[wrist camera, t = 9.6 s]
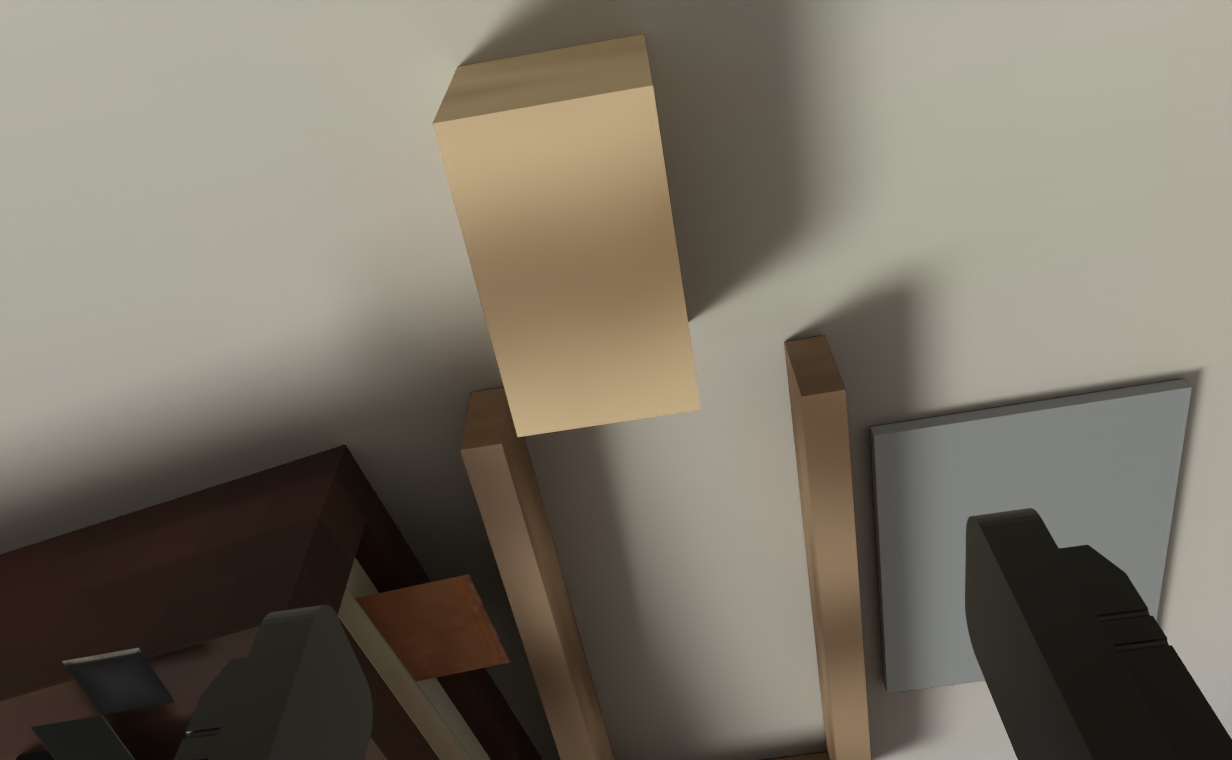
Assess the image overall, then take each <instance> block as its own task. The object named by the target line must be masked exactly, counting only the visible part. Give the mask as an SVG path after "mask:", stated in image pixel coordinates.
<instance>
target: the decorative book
mask: <svg viewBox="0 0 1232 760" xmlns="http://www.w3.org/2000/svg"><path fill="white" fill-rule="evenodd" d="M320 605H329V606H330V607H332V608H333V610H334V611H335V613H336V614H337V616H338V619H339V621H340V623H341V625H342V627H343V629H344V632H345V634H346V636H347V638H348V640H349V643H350V645H351V647H352V649H353V651H354V654H355V656H356V658H357V660H358V662H359V665H360V667H361V669H362V671H363V673H364V676H365V678H366V680H367V683H368V685H369V689H370V693H371V699H372V709H373V719H372V730H371V735H370V739H369V744H368V748H367V752H366V757H365V760H542V758H541V756H540V755H539V753H538V752H537V750H536V748H535V747H534V745H533V744H532V742H531V740H530V739H529V737H528V736H527V734H526V732H525V731H524V729H523V728H522V726H521V724H520V723H519V721H518V720H517V718H516V716H515V715H514V713H513V712H512V710H511V708H510V707H509V705H508V704H507V702H506V700H505V699H504V697H503V696H502V694H501V692H500V691H499V689H498V688H497V686H496V684H495V683H494V681H493V680H492V678H491V676H490V675H489V673H488V672H487V670H486V668H485V667H490V666H495V665H500V664H505V663H510V660H509V658H508V655H507V653H506V651H505V649H504V647H503V645H502V643H501V640H500V638H499V636H498V634H497V632H496V630H495V627H494V625H493V623H492V621H491V619H490V617H489V615H488V612H487V610H486V608H485V606H484V604H483V602H482V600H481V597H480V595H479V593H478V591H477V589H476V587H475V584H474V582H473V580H472V578H471V576H470V574H467V575H462V576H457V577H453V578H448V579H443V580H439V581H434V582H431V581H430V579H429V577H428V576H427V574H426V573H425V571H424V569H423V568H422V566H421V565H420V563H419V561H418V560H417V558H416V557H415V555H414V554H413V552H412V550H411V549H410V547H409V546H408V544H407V542H406V541H405V539H404V538H403V536H402V534H401V533H400V531H399V530H398V528H397V526H396V525H395V523H394V522H393V520H392V518H391V517H390V515H389V514H388V512H387V510H386V509H385V507H384V506H383V504H382V502H381V501H380V499H379V498H378V496H377V494H376V493H375V491H374V490H373V488H372V486H371V485H370V483H369V482H368V480H367V478H366V477H365V475H364V474H363V472H362V470H361V469H360V467H359V466H358V464H357V462H356V461H355V459H354V458H353V456H352V454H351V453H350V451H349V450H348V448H347V447H346V445H343V446H340V447H336V448H333V449H330V450H327V451H324V452H321V453H318V454H314V455H311V456H308V457H305V458H302V459H299V460H296V461H293V462H289V463H286V464H283V465H280V466H277V467H274V468H271V469H268V470H264V471H261V472H258V473H255V474H252V475H249V476H246V477H242V478H239V479H236V480H233V481H230V482H227V483H224V484H221V485H217V486H214V487H211V488H208V489H205V490H202V491H199V492H195V493H192V494H189V495H186V496H183V497H180V498H177V499H174V500H170V501H167V502H164V503H161V504H158V505H155V506H152V507H148V508H145V509H142V510H139V511H136V512H133V513H130V514H127V515H123V516H120V517H117V518H114V519H111V520H108V521H105V522H101V523H98V524H95V525H92V526H89V527H86V528H83V529H80V530H76V531H73V532H70V533H67V534H64V535H61V536H58V537H54V538H51V539H48V540H45V541H42V542H39V543H36V544H33V545H29V546H26V547H23V548H20V549H17V550H14V551H11V552H8V553H4V554H1V555H0V760H174V758H175V756H176V753H177V751H178V749H179V746H180V744H181V742H182V739H186V730H187V727H188V725H189V723H190V720H191V718H192V716H193V713H194V711H195V708H196V706H197V704H198V701H199V699H200V697H201V694H202V693H203V692H204V691H205V690H206V688H207V687H208V686H209V685H210V684H211V682H212V681H213V680H214V679H215V678H216V676H217V675H218V674H219V673H220V672H221V671H222V669H223V668H224V667H225V666H226V665H227V663H228V662H229V661H230V660H231V659H238V658H245V657H248V656H249V653H250V651H251V648H252V646H253V643H254V640H255V638H256V635H257V633H258V630H259V627H260V625H261V623H262V621H263V619H264V618H265V616H266V615H267V614H269V613H271V612H277V611H284V610H291V609H298V608H305V607H313V606H320Z"/></svg>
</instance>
